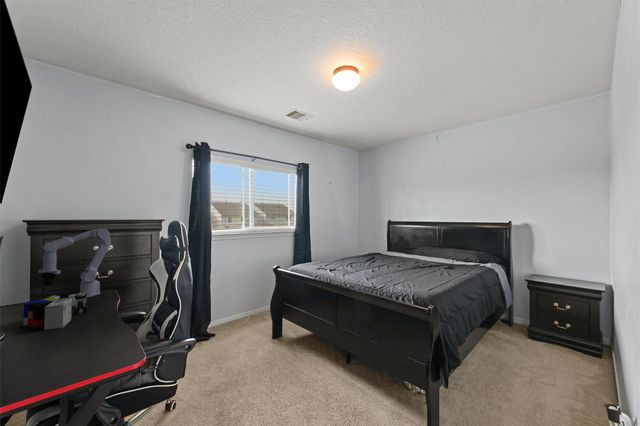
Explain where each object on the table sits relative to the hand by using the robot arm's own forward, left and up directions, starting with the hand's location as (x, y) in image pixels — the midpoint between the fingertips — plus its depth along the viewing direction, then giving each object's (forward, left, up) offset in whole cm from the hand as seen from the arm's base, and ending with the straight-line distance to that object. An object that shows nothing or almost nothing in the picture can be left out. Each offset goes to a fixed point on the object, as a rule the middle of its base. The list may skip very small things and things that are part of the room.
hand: (49, 285), depth 160 cm
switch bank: (+4, +13, -10) cm, 17 cm away
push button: (+9, +36, -10) cm, 38 cm away
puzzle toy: (+23, +34, -10) cm, 42 cm away
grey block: (-1, +17, -9) cm, 19 cm away
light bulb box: (+24, +45, -10) cm, 52 cm away
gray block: (+3, +10, -9) cm, 14 cm away
